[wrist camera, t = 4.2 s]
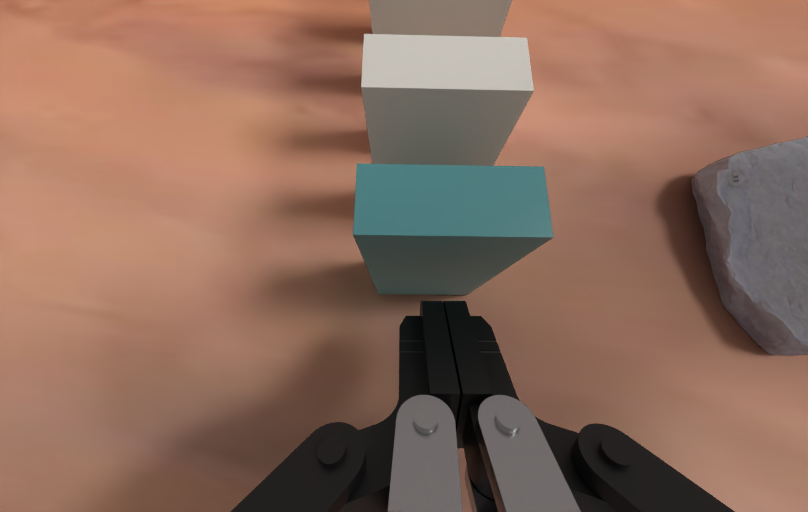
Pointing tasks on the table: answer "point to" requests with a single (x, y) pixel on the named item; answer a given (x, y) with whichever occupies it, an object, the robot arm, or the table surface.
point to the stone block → (760, 240)
